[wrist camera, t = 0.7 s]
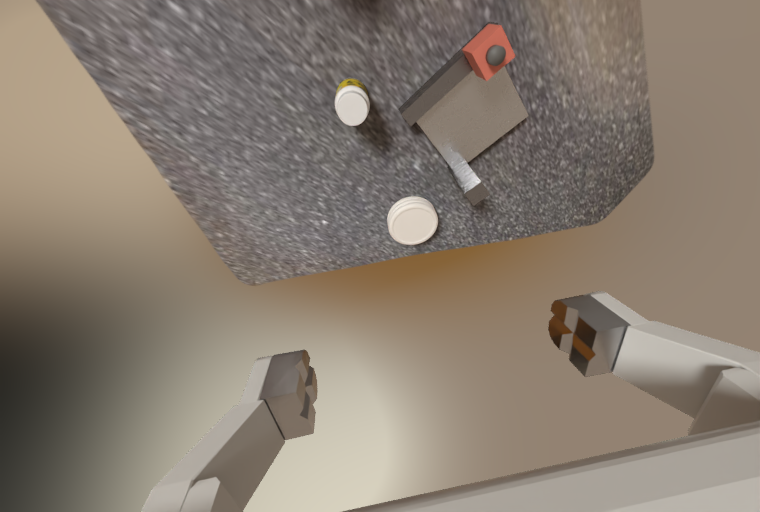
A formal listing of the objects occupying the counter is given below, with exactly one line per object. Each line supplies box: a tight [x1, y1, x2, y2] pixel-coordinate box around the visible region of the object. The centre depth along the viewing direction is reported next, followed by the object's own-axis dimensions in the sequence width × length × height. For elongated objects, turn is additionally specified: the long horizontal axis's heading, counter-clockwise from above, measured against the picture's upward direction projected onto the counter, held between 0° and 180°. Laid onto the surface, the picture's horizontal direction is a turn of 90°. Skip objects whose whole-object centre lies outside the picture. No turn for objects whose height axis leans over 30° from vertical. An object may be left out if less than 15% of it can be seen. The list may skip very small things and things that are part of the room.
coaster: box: [387, 196, 438, 245], centre depth 58 cm, size 10×10×4 cm
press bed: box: [399, 22, 528, 206], centre depth 43 cm, size 16×17×10 cm
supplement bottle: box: [335, 78, 370, 126], centre depth 40 cm, size 5×5×8 cm
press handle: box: [462, 24, 515, 81], centre depth 36 cm, size 4×4×5 cm
